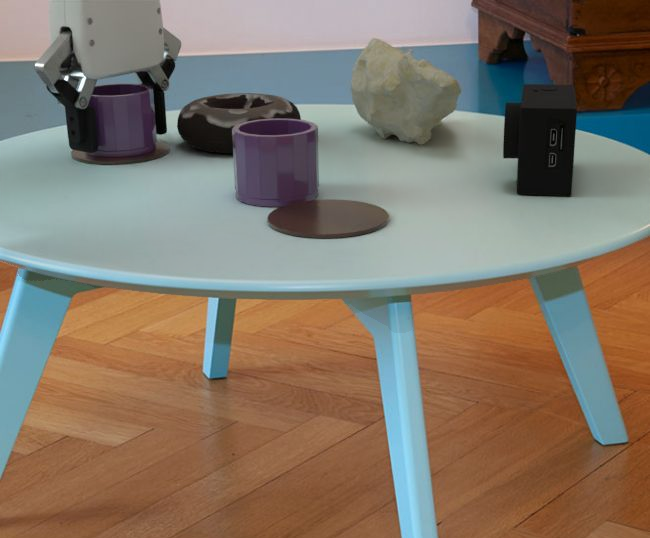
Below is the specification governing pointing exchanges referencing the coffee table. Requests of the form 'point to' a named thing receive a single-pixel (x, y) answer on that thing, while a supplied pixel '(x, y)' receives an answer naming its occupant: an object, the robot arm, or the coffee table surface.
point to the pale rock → (401, 92)
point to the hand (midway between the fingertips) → (119, 140)
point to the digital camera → (542, 138)
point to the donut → (228, 117)
